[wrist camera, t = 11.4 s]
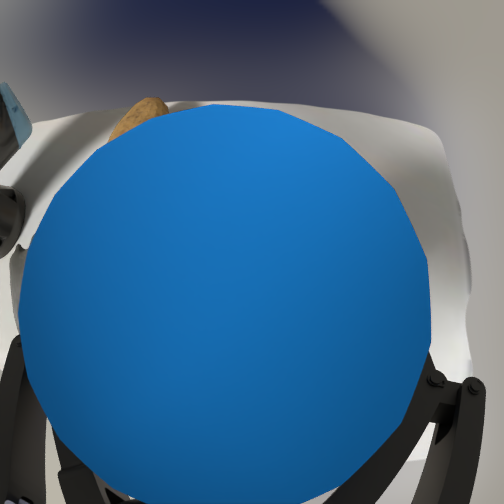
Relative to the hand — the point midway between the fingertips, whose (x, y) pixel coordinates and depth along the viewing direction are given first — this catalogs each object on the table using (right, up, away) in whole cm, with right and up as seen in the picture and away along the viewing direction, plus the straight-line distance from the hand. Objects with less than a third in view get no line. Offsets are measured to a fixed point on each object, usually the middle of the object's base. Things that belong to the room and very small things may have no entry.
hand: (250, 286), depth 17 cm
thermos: (+1, -6, +14) cm, 15 cm away
